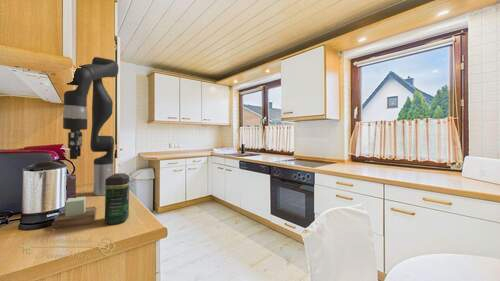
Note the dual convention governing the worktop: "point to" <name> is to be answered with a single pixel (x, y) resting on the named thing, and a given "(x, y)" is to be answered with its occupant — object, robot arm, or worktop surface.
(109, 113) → the robot arm
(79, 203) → the sage cube
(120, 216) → the coffee jar
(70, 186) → the supplement box
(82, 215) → the walnut base
